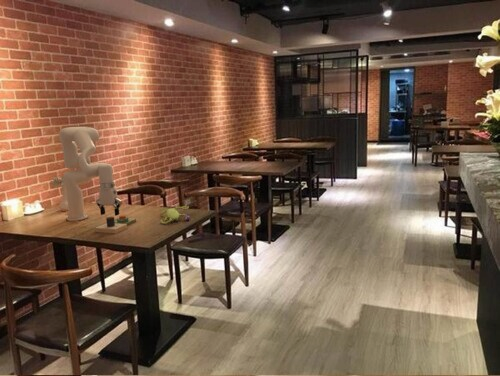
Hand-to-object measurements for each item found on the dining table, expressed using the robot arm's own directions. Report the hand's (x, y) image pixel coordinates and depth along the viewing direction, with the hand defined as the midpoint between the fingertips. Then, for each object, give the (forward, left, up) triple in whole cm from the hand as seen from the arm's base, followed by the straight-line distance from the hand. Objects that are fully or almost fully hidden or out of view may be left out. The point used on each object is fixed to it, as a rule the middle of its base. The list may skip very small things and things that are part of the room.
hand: (110, 214), depth 244 cm
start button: (-2, +14, -6) cm, 16 cm away
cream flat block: (0, 0, -9) cm, 9 cm away
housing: (-2, +14, -9) cm, 17 cm away
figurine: (+24, +32, -10) cm, 41 cm away
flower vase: (-66, +36, -10) cm, 76 cm away
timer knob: (0, 0, -7) cm, 7 cm away
